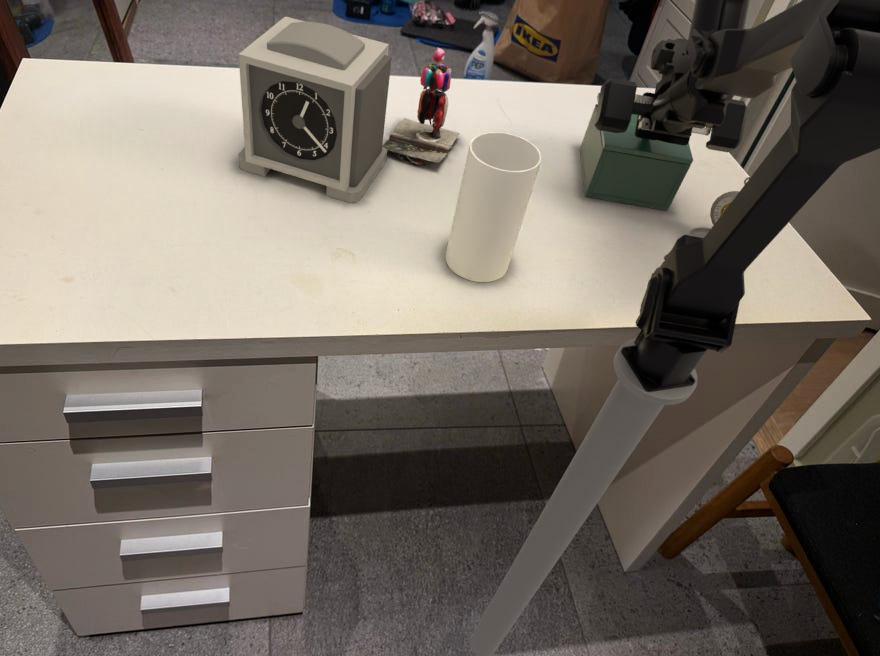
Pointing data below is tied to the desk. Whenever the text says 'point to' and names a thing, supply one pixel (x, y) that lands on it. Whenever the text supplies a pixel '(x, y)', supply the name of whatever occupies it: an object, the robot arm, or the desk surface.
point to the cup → (491, 205)
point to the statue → (433, 105)
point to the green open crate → (627, 174)
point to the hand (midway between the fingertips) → (646, 133)
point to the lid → (644, 145)
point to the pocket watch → (716, 211)
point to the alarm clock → (315, 106)
